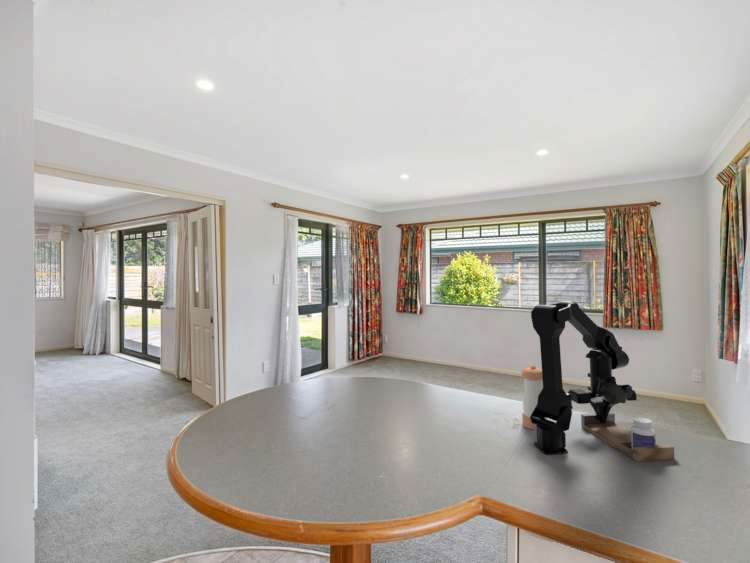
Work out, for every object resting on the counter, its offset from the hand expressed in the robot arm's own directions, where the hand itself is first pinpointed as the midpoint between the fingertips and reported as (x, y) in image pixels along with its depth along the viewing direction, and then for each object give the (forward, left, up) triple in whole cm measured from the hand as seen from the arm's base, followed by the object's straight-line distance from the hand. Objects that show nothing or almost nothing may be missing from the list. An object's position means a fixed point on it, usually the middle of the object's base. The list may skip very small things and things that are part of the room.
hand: (602, 422), depth 116 cm
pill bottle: (0, -16, -2) cm, 16 cm away
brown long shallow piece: (0, -9, -2) cm, 9 cm away
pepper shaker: (-18, +7, -2) cm, 19 cm away
